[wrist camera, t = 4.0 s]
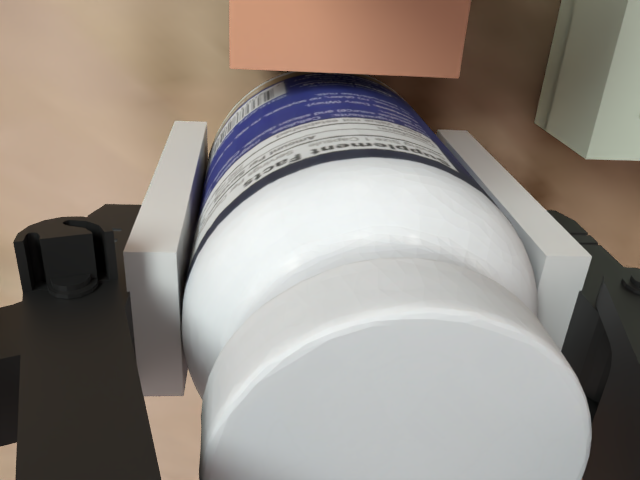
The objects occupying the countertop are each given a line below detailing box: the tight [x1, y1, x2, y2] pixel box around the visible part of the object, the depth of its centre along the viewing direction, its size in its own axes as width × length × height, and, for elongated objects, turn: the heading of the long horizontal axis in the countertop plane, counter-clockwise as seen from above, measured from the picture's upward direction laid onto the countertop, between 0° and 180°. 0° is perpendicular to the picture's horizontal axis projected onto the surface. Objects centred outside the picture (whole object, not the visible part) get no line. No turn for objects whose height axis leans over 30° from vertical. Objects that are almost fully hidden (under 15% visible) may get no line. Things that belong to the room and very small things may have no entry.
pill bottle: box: [182, 71, 592, 480], centre depth 12 cm, size 6×6×10 cm
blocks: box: [229, 0, 471, 78], centre depth 15 cm, size 27×4×4 cm, turn 177°
